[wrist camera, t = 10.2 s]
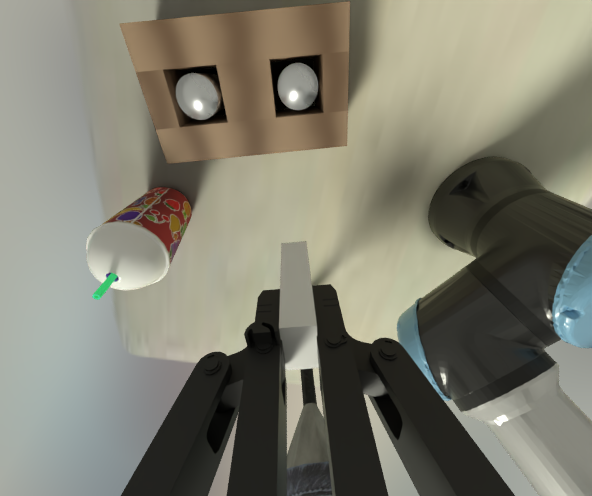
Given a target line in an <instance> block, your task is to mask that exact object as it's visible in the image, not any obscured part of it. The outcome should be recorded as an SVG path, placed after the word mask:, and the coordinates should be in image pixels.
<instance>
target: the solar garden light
mask: <svg viewBox="0 0 592 496" xmlns="http://www.w3.org/2000/svg"><path fill="white" fill-rule="evenodd" d="M301 380H302V392H303V405H304V407H303V410H302V413H301V416H300V418H299V421H298V424H297V427H296V430H295V433H294V436H293V439H292V442H291V445H290V448H289V451H288V454H287V496H332V487H331V478H330V469H329V460H328V450H327V441H326V432H325V423H324V418H323V416H322V414H321V413H320V411H319V409H318V407H317V402H316V394H315V386H314V377H313V369H312V368H311V369H301Z"/></svg>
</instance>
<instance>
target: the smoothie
mask: <svg viewBox="0 0 592 496" xmlns="http://www.w3.org/2000/svg"><path fill="white" fill-rule="evenodd" d="M191 215H192V214H191V207H190V204H189V202H188V200H187V199H186V197H185V196H184V195H183V194H182V193H180V192H179V191H177V190H174V189H172V188H166V187H158V188H153V189H152V190H150V191H149V192H147V193H146V194H144V195H143V196H141V197H140V198H139V199H137V200H136V201H134V202H133V203H132V204H130V205H129V206H127V207H126V208H124V209H123V210H122V211H120V212H119V213H117V214H116V215H115V216H113V217H112V218H110V219H109V220H108V221H106V222H105V223H103V224H102V225H100V226H99V227H97V228H95V229H93V230H92V232H91V233H90V235H89V236H88V237H87V243H86V250H87V255H86V259H87V263H88V267H89V269H90V271H91V272H92V274H93V275H94V277H95V278H96V279H97V280H99V281H100V282H101V283H102V285H101V286H100V287H99V288H98V289H97V291H96V292H95V293H94V294H93V296H92V297H93V298H94V299H97V300H98V299H100V298H101V297H102V296H103V294H104V293H105V292H106V290H107V289H108V288H109V287H111V288H114V289H117V290H134V289H140V288H143V287H145V286H147V285H151V284H153V283H156V282H158V281H160V280H161V279H162V278H163V277H164V276H165V275H166V274H167V272H168V269H169V266H170V264H171V262H172V260H173V257H174V255H175V253H176V250H177V248H178V246H179V244H180V241H181V239H182V237H183V235H184V232H185V230H186V228H187V226H188V223H189V221H190V218H191Z"/></svg>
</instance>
